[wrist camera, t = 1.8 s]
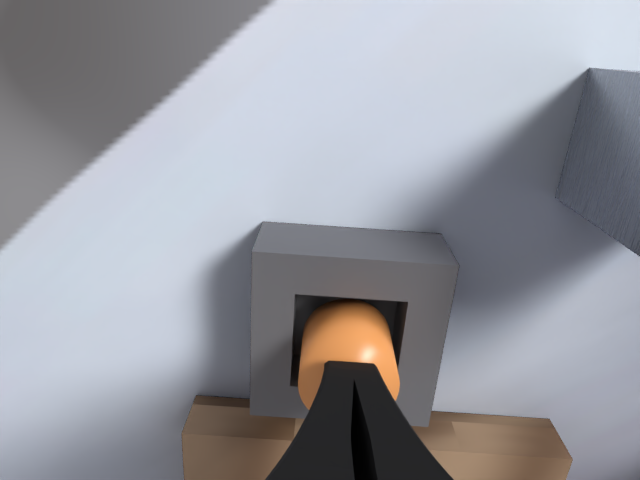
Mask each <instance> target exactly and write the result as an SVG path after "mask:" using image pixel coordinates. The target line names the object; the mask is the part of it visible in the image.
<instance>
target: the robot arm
mask: <svg viewBox="0 0 640 480" xmlns="http://www.w3.org/2000/svg"><path fill="white" fill-rule="evenodd" d="M265 480H454V479H453V478H452V477H451V476H450V475H449V474H448V473H447V471H446V470H445V469H444V468H443V467H442V466H441V465H440V463H439V462H438V461H437V460H436V459H435V457H434V456H433V455H432V454H431V452H430V451H429V450H428V449H427V447H426V446H425V445H424V443H423V442H422V441H421V439H420V438H419V437H418V435H417V434H416V432H415V431H414V430H413V428H412V427H411V425H410V424H409V422H408V421H407V419H406V418H405V416H404V415H403V413H402V411H401V410H400V408H399V407H398V405H397V403H396V402H395V400H394V398H393V397H392V395H391V393H390V391H389V390H388V388H387V386H386V384H385V382H384V380H383V378H382V376H381V374H380V372H379V370H378V368H377V366H376V365H375V364H374V363H360V362H345V361H330V360H329V361H327V362H326V363H325V364H324V372H323V376H322V380H321V383H320V386H319V389H318V391H317V394H316V396H315V398H314V401H313V403H312V405H311V407H310V410H309V412H308V414H307V416H306V418H305V419H304V421H303V423H302V425H301V427H300V429H299V431H298V432H297V434H296V436H295V437H294V439H293V441H292V442H291V444H290V446H289V447H288V449H287V450H286V452H285V453H284V455H283V456H282V458H281V459H280V460H279V462H278V463H277V464H276V466H275V467H274V468H273V470H272V471H271V472H270V474H269V475H268V476H267V478H266V479H265Z"/></svg>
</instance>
